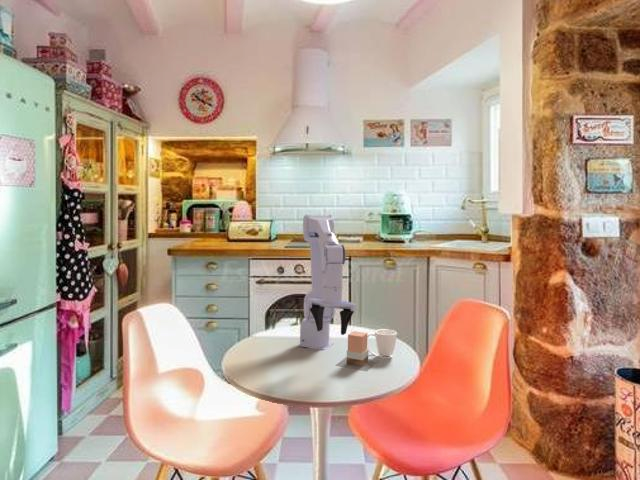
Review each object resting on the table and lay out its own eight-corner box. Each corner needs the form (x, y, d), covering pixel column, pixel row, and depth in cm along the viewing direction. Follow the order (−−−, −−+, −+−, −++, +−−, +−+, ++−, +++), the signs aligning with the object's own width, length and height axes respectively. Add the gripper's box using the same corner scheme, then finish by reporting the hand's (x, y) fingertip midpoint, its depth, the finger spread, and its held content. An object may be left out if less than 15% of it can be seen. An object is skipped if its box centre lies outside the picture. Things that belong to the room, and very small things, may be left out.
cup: (395, 361, 146) (396, 335, 145) (363, 358, 148) (363, 333, 147) (397, 354, 152) (398, 329, 152) (366, 351, 155) (367, 327, 154)
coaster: (335, 366, 141) (335, 365, 141) (348, 356, 150) (348, 355, 150) (367, 372, 136) (367, 371, 136) (378, 361, 145) (378, 360, 145)
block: (347, 351, 141) (348, 334, 141) (353, 347, 145) (353, 330, 145) (361, 353, 139) (362, 336, 139) (367, 349, 143) (367, 332, 143)
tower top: (346, 357, 142) (346, 351, 141) (353, 352, 146) (353, 346, 146) (362, 360, 139) (362, 353, 139) (368, 355, 144) (368, 348, 144)
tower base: (346, 364, 142) (346, 357, 142) (352, 359, 146) (353, 352, 146) (362, 366, 140) (362, 360, 139) (368, 361, 144) (368, 355, 144)
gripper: (303, 286, 138) (303, 332, 139) (350, 291, 131) (349, 339, 133) (314, 282, 144) (314, 326, 145) (359, 287, 138) (358, 333, 139)
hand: (331, 332), depth 139 cm, fingers open, 7 cm apart
